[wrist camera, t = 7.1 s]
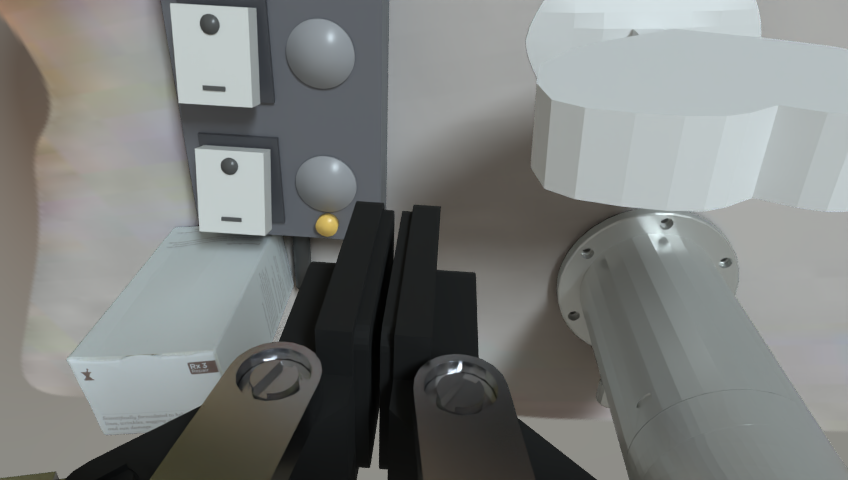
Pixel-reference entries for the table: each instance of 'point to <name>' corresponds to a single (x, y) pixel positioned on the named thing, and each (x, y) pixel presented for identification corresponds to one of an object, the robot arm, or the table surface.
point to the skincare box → (181, 326)
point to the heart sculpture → (685, 107)
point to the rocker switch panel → (307, 112)
